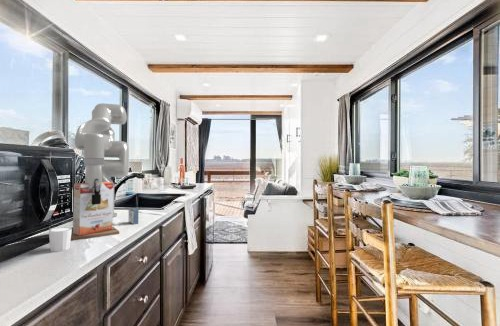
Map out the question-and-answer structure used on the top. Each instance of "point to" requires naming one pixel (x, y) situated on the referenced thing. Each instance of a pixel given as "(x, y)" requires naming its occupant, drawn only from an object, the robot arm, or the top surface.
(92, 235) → the walnut board
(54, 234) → the white short tapered cylinder
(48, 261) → the top surface
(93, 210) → the cracker box
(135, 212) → the twin grey pillars
